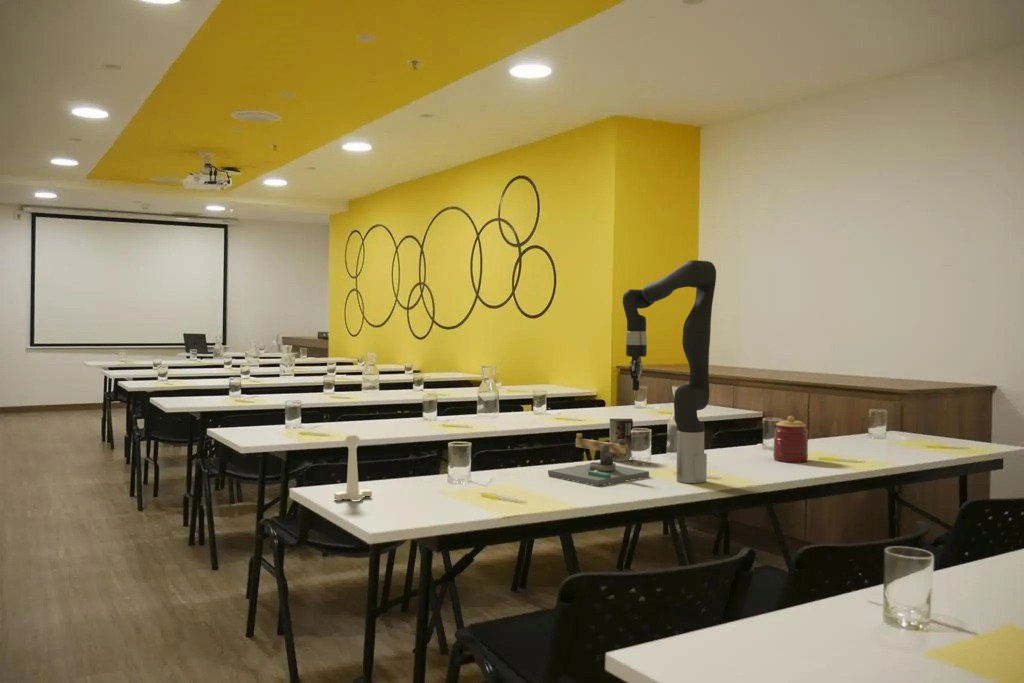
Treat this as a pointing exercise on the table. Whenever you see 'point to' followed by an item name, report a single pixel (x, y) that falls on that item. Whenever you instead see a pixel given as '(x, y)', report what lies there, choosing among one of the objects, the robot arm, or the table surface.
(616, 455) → the coffee box
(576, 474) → the board
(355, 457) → the joystick
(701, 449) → the robot arm
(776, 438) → the canister
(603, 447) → the wooden pivot lever
